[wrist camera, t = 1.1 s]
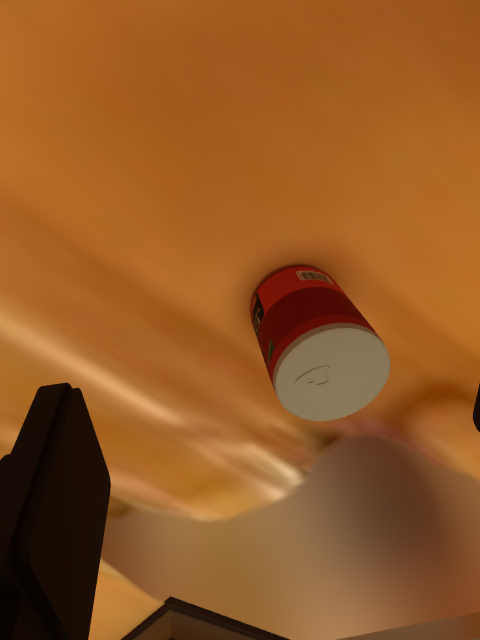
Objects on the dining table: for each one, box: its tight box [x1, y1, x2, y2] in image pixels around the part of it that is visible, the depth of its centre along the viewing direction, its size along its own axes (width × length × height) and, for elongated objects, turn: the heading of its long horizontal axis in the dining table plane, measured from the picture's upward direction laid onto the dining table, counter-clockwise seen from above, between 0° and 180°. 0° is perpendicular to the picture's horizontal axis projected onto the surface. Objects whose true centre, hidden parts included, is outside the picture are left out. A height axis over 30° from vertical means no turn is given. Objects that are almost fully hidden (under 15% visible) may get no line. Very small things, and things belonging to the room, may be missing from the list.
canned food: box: [251, 266, 390, 421], centre depth 34 cm, size 8×8×11 cm
